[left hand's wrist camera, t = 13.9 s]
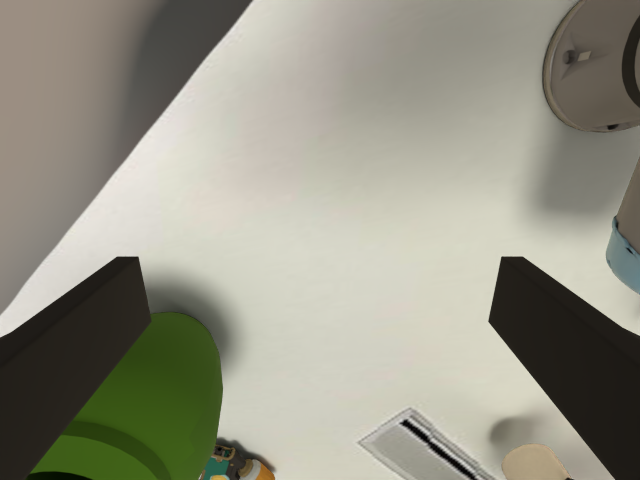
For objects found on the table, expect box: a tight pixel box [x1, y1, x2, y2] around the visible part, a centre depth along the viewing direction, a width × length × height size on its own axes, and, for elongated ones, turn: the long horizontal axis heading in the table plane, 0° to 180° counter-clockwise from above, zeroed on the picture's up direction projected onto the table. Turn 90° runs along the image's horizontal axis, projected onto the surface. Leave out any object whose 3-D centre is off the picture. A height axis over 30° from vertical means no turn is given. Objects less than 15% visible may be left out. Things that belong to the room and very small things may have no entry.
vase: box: [25, 312, 223, 480], centre depth 40 cm, size 20×20×24 cm
